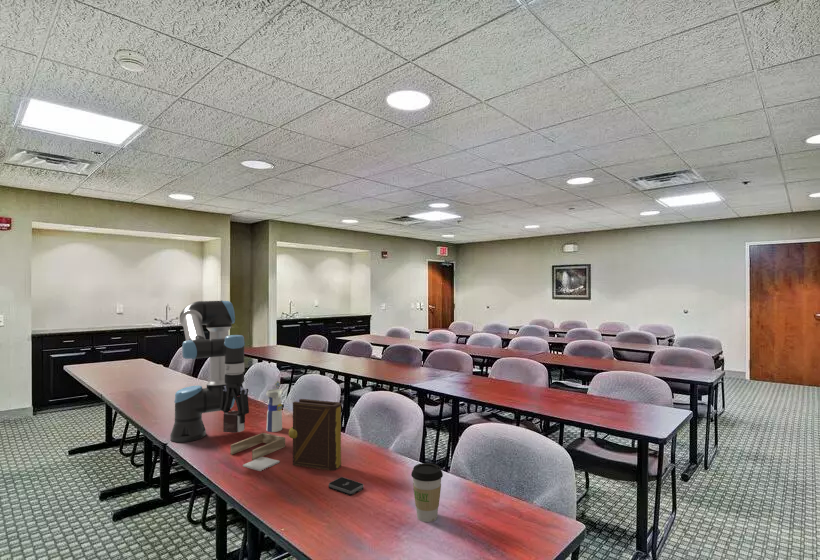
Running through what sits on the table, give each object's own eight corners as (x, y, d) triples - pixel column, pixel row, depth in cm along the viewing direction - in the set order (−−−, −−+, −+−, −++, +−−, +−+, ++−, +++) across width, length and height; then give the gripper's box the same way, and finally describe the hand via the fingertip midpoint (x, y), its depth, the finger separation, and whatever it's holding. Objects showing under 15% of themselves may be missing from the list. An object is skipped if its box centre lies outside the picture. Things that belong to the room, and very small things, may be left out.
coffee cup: (410, 509, 143) (410, 462, 143) (440, 508, 144) (440, 461, 144) (412, 526, 133) (412, 475, 133) (445, 524, 134) (445, 474, 134)
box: (235, 433, 178) (236, 415, 178) (222, 432, 180) (222, 414, 180) (245, 428, 184) (245, 410, 184) (232, 427, 186) (232, 410, 186)
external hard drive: (350, 497, 152) (350, 491, 152) (327, 489, 158) (327, 483, 158) (364, 489, 158) (364, 484, 158) (341, 482, 164) (341, 476, 164)
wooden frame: (230, 454, 190) (230, 444, 191) (262, 441, 206) (262, 432, 206) (253, 460, 184) (253, 450, 184) (285, 446, 200) (285, 437, 200)
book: (343, 464, 180) (344, 401, 180) (333, 472, 172) (333, 407, 172) (296, 457, 187) (297, 397, 187) (284, 465, 179) (285, 402, 179)
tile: (242, 466, 178) (242, 464, 178) (262, 457, 186) (262, 456, 186) (260, 471, 173) (260, 469, 173) (279, 462, 182) (279, 460, 182)
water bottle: (287, 427, 226) (287, 378, 226) (275, 433, 218) (275, 381, 218) (274, 425, 229) (274, 377, 230) (262, 430, 222) (262, 380, 222)
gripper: (210, 372, 184) (210, 428, 184) (243, 377, 174) (243, 436, 174) (225, 369, 191) (225, 423, 190) (258, 373, 181) (258, 430, 180)
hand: (234, 429), depth 182 cm, fingers closed on box, 7 cm apart
